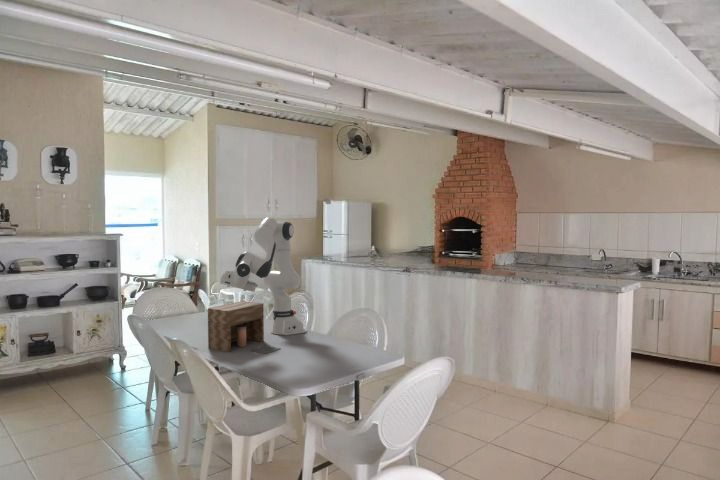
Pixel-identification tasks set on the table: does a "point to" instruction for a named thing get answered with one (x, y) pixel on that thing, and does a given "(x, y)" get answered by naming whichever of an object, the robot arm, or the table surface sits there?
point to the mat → (265, 349)
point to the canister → (241, 336)
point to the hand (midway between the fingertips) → (236, 287)
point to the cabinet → (234, 323)
